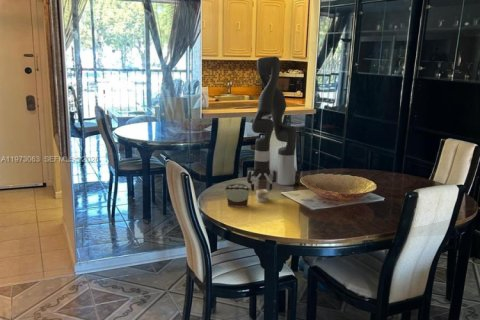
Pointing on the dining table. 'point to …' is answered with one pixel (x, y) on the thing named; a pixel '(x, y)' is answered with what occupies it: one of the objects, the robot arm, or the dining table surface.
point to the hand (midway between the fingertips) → (261, 190)
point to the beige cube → (262, 195)
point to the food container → (237, 194)
